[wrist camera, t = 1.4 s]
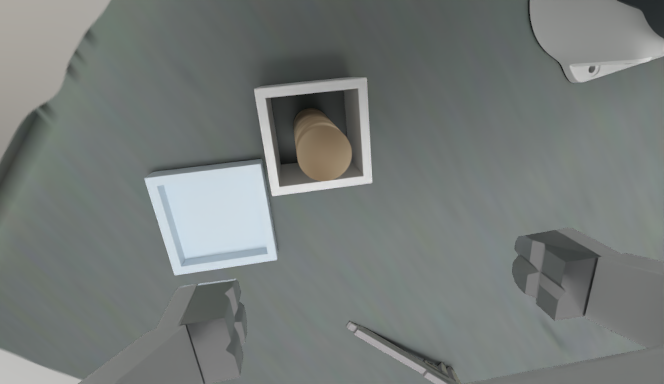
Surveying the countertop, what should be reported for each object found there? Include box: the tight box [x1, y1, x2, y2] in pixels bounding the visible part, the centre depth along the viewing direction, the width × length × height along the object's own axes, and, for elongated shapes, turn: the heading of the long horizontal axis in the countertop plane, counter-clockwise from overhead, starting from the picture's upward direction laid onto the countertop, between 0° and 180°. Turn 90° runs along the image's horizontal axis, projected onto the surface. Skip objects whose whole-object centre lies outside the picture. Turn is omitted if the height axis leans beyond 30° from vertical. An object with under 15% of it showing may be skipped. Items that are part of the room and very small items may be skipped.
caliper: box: [346, 321, 461, 384], centre depth 47 cm, size 20×1×6 cm, turn 57°
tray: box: [144, 159, 278, 275], centre depth 37 cm, size 12×12×2 cm
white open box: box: [254, 77, 372, 196], centre depth 33 cm, size 10×10×8 cm
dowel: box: [293, 108, 352, 181], centre depth 30 cm, size 4×4×14 cm
